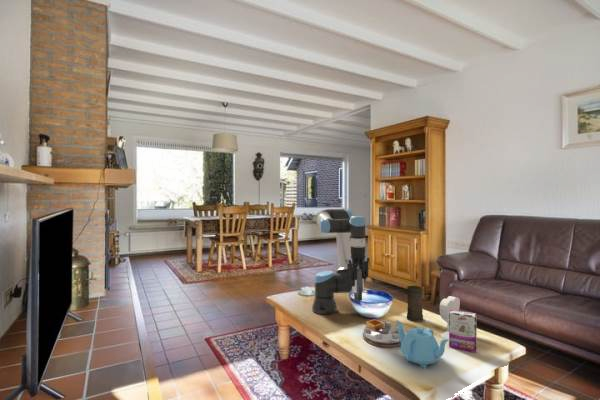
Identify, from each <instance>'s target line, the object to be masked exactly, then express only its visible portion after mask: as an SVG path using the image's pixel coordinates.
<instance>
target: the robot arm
mask: <svg viewBox="0 0 600 400" xmlns="http://www.w3.org/2000/svg"><path fill="white" fill-rule="evenodd" d="M315 222H316V224H317V226H319V232H320V233H321V234H336V235H335V236H336V238H335V239H336V250H337V262H338V264H337V265H338V268H337V270H336V273H335V272H334V271H332V270H322V271H319V272H317V273H316V274H315V276H314V299H313V302H312V303H313V304H312V306H311V310H312V312H313V313H315V314H317V315H332V314H335V313H337V312H338V306H337V303H336V300H335V294H353V293H357V280H355V279H356V272H357V268H361V269H362V293H363V292H365V285H366V279H367V278H368V277H369V262H370V258H369V257H367V256H366V218H365V216H362V215H354V216H353V212H352V210H350V209H348V208H328V209H323V210H320V211H318V213H317V214H316V215H315Z"/></svg>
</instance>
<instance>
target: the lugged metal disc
mask: <svg viewBox="0 0 600 400" xmlns="http://www.w3.org/2000/svg"><path fill="white" fill-rule="evenodd" d="M365 321H366V322H365V324H366V325H365V327H364V329H363V333H364V336H365V337H366V338H367V339H368V340H370V341H372V342H375V343H378V344H386V345H392V344H397V343H400V340H399V326H398V327H397V326H395V325H392V324H391V322H388V321H385V322H383V321H381V320H378V319H375V318H374V319H371V320H365Z"/></svg>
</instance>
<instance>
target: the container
mask: <svg viewBox="0 0 600 400" xmlns="http://www.w3.org/2000/svg"><path fill="white" fill-rule="evenodd" d="M406 289H407V308H406V309H407V312H406V319H407V320H408V321H410V322H414V323H420V322H423V321H424V315H423V290H424V289H423V287H421V286H418V285H408V286H407V288H406Z"/></svg>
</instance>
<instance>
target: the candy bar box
mask: <svg viewBox="0 0 600 400" xmlns="http://www.w3.org/2000/svg"><path fill="white" fill-rule="evenodd" d="M477 334H478V332H477V313H476V312H475V313H474V312H469V311H463V310H459V311H456V310H450V312H449V338H448V339H450V340H449V341H448V343H449V344H448V347H449V348H451V349H456V350H462V351H466V352H470V353H477V345H478V342H477V337H478V336H477Z"/></svg>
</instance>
